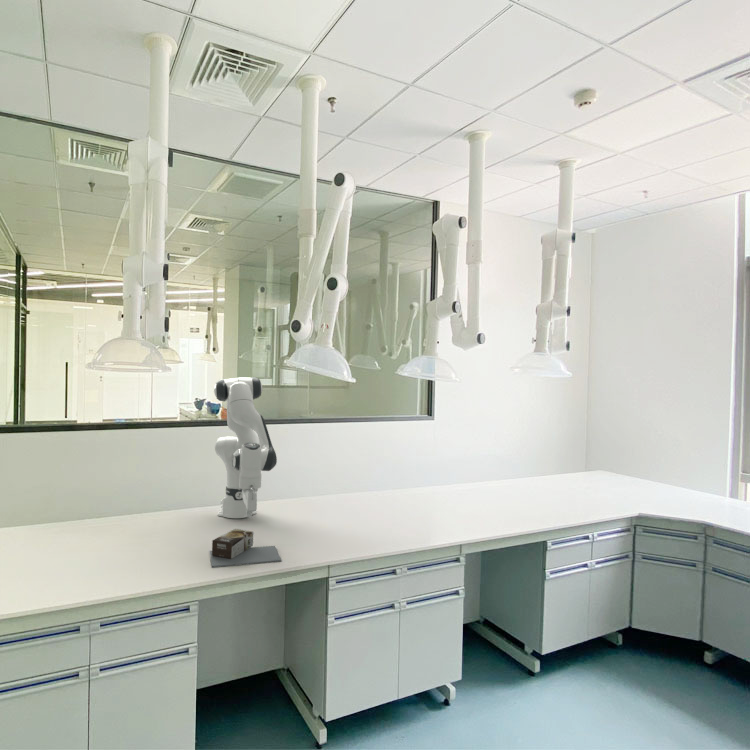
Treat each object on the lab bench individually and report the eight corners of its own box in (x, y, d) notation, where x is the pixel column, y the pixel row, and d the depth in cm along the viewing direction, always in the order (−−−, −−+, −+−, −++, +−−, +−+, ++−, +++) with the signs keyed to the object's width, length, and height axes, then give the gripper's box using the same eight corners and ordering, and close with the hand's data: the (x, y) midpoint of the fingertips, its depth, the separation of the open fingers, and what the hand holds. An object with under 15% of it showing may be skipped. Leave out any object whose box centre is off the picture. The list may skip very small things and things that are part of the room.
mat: (209, 552, 207) (209, 550, 207) (274, 547, 216) (274, 545, 216) (211, 567, 192) (211, 565, 192) (281, 561, 201) (281, 559, 201)
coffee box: (253, 530, 214) (232, 543, 199) (253, 546, 214) (231, 559, 199) (234, 527, 217) (211, 539, 201) (234, 542, 217) (211, 556, 201)
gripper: (261, 488, 203) (259, 523, 204) (255, 477, 223) (253, 509, 223) (244, 489, 201) (243, 524, 202) (240, 477, 221) (238, 510, 221)
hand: (248, 516), depth 212 cm, fingers closed
